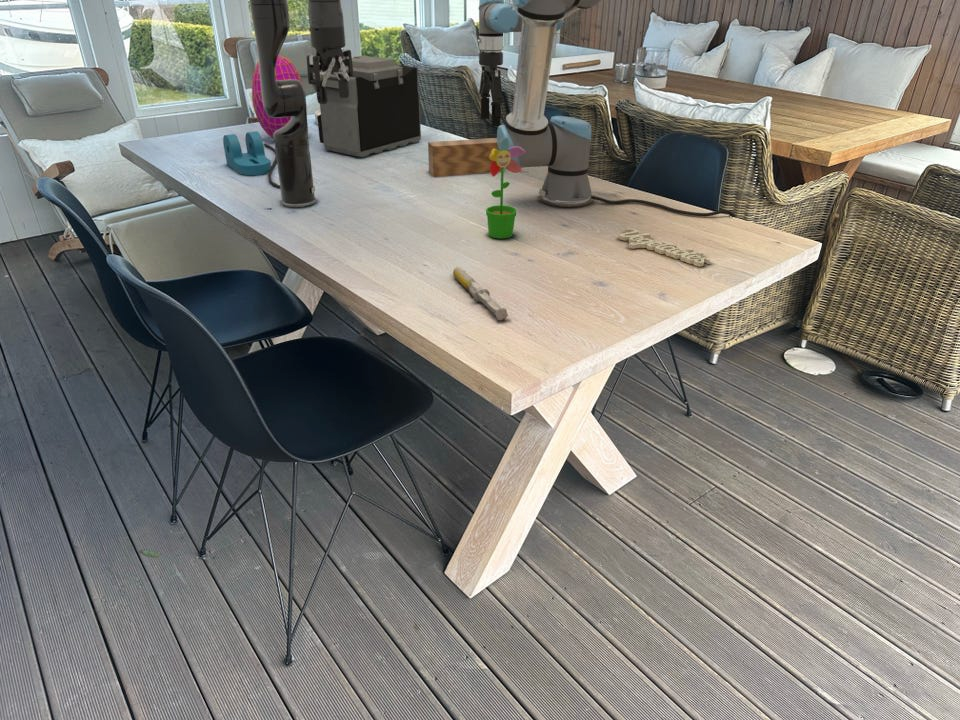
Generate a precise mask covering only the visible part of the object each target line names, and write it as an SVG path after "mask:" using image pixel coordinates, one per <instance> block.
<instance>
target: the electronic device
mask: <svg viewBox="0 0 960 720" xmlns="http://www.w3.org/2000/svg"><path fill="white" fill-rule="evenodd" d="M352 65H353V74H354V75H353V77H350V78H349V81H348V88H349V97H348V98H341V97H340V95H339V84H338V81H340V80H339V79H338V78H337V76H336V74H334V73H333V74H330V77H329V78H328V79H327V81H326V85H325V87H326V91H327V104H319V110H320V111H321V115H319V116H318V117H317V120H318V125H317V128H318V138H319V143H320V144H323V146H324V149H325V150H327V151H330V152H335V153H340V154H344V155H348V156H353V157H357V158H362V159H363V158H366V157H367V158H368V157H369V155H371V154H375V155H377V154H381V153H382V152H383V151H391V150H395V149H396V148H397V147H405V146H407V145H408V144H416V143H418V142H419V141H421V137H422V128H421V97H420V92H419V91H420V89H419V68H418V67H417V66H408V65H400V64H396V62H395V60H394V59H393V58H385V57H377V56H367V55H356V56H353V57H352ZM346 69H347V71H349V70H348V66H346ZM313 79H315V73H313ZM320 80H322V77H321V78H320ZM311 87H313V90H314V91H315V92H316V87H315V86H314V85H312V84H311Z"/></svg>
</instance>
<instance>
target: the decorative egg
mask: <svg viewBox="0 0 960 720" xmlns="http://www.w3.org/2000/svg"><path fill="white" fill-rule="evenodd" d="M253 70H254V71H253V73H252V77H251V101H252V107H253V110H254V114H255V116H256V118H257V121H258V123H259V125H260V127H261V128H262V130H263V131H264V133H266V135H267V136H268V137H270V138H271V139H273V140H274V137H273V135H274V132H275V131H276V130H278V129H280V128H282V127H283V126H285V125H286V124H287V123H288V122H289V121H290V119H291V117H281V118H270V117H269V116H268V115H267V114H266V112H265V110H264V106H263V102H262V95H261V84H260V72H259V60H257V62H256V65H255V68H254V69H253ZM291 79H296V80H299V81H300V82H301V84H302V86H303V88H304V84H303V81H302V77H301V75H300V73H299V71H298V69H297V67H296V66H295V65H294V63H293V62H292V61H291V60H290V59H288V58H287V57H285V56H282V55H280V54H279V55H278V58H277V61H276V68H275V81H277V80H291ZM304 89H305V88H304Z"/></svg>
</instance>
